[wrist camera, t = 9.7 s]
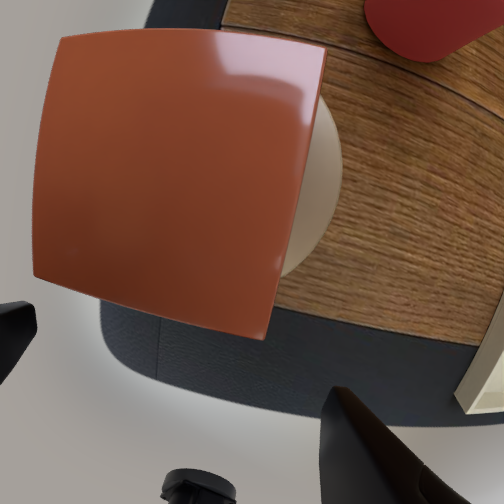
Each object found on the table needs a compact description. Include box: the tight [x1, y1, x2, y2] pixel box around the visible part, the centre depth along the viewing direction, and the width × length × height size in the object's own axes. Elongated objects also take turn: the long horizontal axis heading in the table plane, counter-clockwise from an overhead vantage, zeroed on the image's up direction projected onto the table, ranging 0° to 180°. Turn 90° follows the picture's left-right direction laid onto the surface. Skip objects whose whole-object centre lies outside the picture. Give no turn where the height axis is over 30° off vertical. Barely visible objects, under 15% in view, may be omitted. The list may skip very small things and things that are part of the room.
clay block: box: [32, 28, 328, 341], centre depth 6 cm, size 4×4×4 cm
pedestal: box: [281, 95, 343, 278], centre depth 13 cm, size 7×7×12 cm
